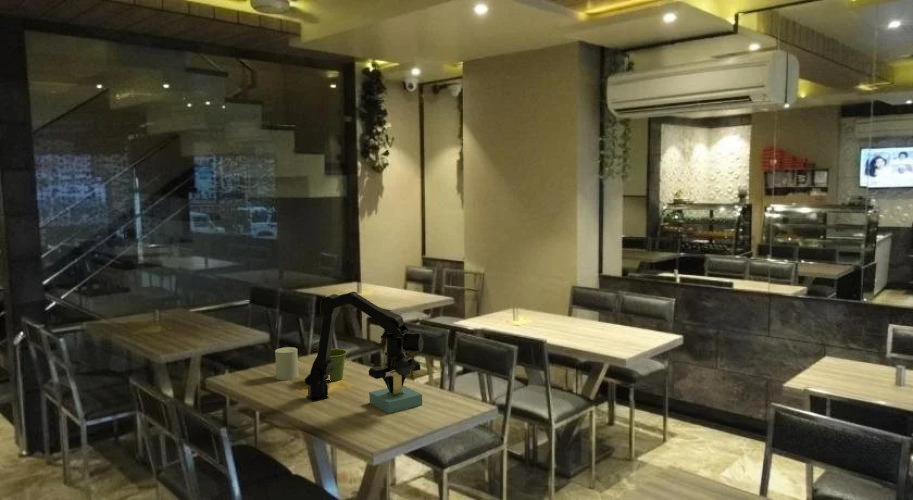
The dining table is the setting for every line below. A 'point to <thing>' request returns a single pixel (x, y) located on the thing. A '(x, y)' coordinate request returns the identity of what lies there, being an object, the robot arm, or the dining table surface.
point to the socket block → (395, 399)
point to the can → (286, 363)
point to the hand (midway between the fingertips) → (395, 391)
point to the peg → (396, 384)
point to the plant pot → (337, 363)
